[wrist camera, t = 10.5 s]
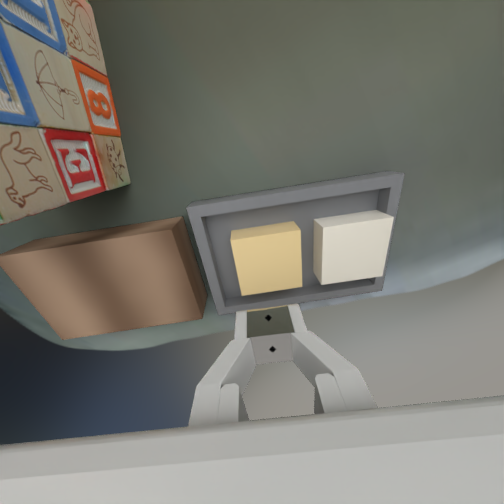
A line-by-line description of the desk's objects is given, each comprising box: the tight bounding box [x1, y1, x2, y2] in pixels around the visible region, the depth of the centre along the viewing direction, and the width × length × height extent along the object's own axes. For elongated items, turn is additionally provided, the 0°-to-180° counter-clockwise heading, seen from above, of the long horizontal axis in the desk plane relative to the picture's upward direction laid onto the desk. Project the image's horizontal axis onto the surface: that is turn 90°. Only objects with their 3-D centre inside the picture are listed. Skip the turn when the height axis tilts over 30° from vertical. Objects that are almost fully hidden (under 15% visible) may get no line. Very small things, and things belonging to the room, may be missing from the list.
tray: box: [186, 171, 405, 315], centre depth 17 cm, size 15×10×2 cm, turn 98°
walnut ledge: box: [0, 216, 207, 340], centre depth 16 cm, size 12×8×3 cm, turn 98°
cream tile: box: [313, 210, 394, 285], centre depth 16 cm, size 5×5×2 cm
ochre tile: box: [230, 221, 302, 296], centre depth 16 cm, size 5×5×2 cm
